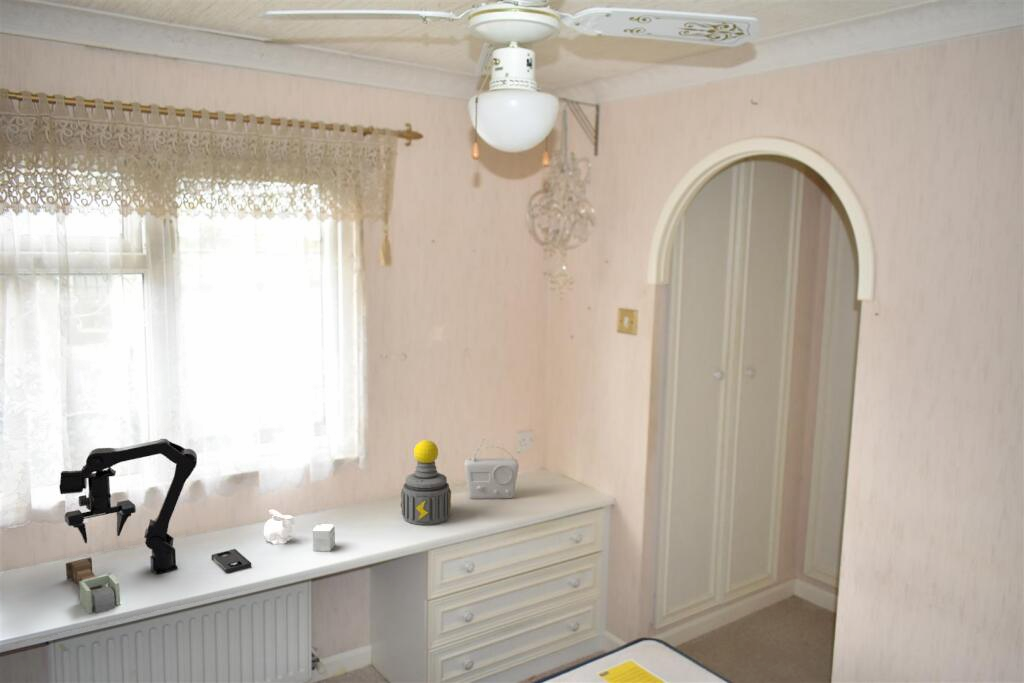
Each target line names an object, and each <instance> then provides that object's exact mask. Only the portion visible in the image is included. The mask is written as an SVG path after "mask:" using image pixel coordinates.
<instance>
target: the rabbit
mask: <svg viewBox="0 0 1024 683" xmlns="http://www.w3.org/2000/svg"><path fill="white" fill-rule="evenodd" d="M268 514H270V515H272V516H271V518H270V519H268V520H267V521H266V522H265V524H264V528H263V534H264V538H265V540H266V542H268V543H271V544H273V545H277V544H278V545H279V544H280V545H284V544H287V542H289V541H291V537H290V536H289V535H291V533H292V530H293V528H292V526H294V525H295V524H296V521H295V517H294V516H292V515H290V514H289V515H288V514H286V515H283V514H282V513H280V512H279V511H277V510H275V509H270V510H269V511H268Z"/></svg>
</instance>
